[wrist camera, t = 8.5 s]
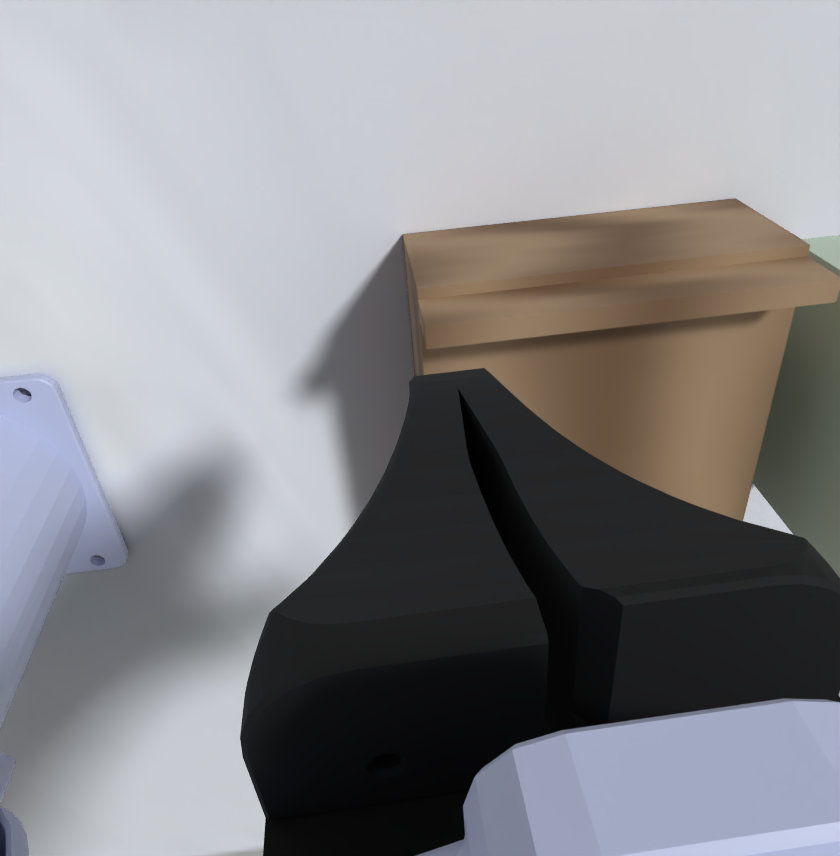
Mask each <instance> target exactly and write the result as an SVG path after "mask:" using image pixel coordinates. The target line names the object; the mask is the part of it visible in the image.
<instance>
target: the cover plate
mask: <svg viewBox="0 0 840 856" xmlns="http://www.w3.org/2000/svg"><path fill="white" fill-rule="evenodd" d="M802 240H803V241H805V242H807V243H808V244H810V248H809V252H808V257H810V258H811V259H813V260H814V261H816V262H817V263H819V264H820V265H822V266H823V267H825V268H827V269H828V270H830V271H831V272H833V273H834V274H836V275H837V276H839V277H840V235H838V236H829V237H820V238H811V239H802ZM752 483H753V484H754V485H755V486H756V488H757V489H758V490H759V491H760V493H761V494H762V495H763V497H764V498H765V499H766V500H767V502H768V503H769V504H770V505H771V507H772V508H773V509H774V510H775V512H776V513H777V514H778V515H779V517H780V518H781V519H782V521H783V522H784V523H785V524H786V526H787V527H788V528H789V529H790V531H791V532H792V533H793V534H794V535H796V536H799V537H803V538H806V540H807V541H808V542H809V543H810V544H811V545H812V546H813V547H814V548H815V549H816V550H817V551H818V552H819V553H820V555H821V556H822V557H823V558H824V559H825V560H826V561H827V562H828V563H829V565H830V566H831V567H832V569H833V570H834V571H835V572H836V574H837V575H838V576H839V578H840V290H839V294H838V297H837V301H836V302H833V303H825V304H816V305H807V306H799V307H795V310H794V314H793V318H792V322H791V326H790V330H789V334H788V338H787V342H786V346H785V351H784V355H783V359H782V363H781V367H780V371H779V375H778V379H777V383H776V387H775V391H774V396H773V400H772V404H771V408H770V412H769V416H768V420H767V424H766V428H765V432H764V436H763V441H762V445H761V449H760V453H759V457H758V461H757V465H756V469H755V473H754V477H753V481H752Z"/></svg>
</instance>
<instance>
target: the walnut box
mask: <svg viewBox="0 0 840 856" xmlns="http://www.w3.org/2000/svg"><path fill="white" fill-rule="evenodd" d="M403 242H404V254H405V265H406V276H407V288H408V299H409V311H410V322H411V334H412V345H413V357H414V368H415V376H420V375H428V374H437V373H445V372H454V371H462V370H471V369H479V368H485V369H486V370H487V371H489V372H490V373H491V374H492V375H493V376H494V377H495V378H496V379H497V380H498V381H499V382H500V383H501V384H502V385H504V386H505V387H506V388H507V389H508V390H509V391H510V392H511V393H512V394H513V395H514V396H515V397H516V398H518V399H519V400H520V401H521V402H522V403H523V404H524V405H525V406H527V407H528V408H529V409H530V410H531V411H532V412H534V413H535V414H536V415H537V416H538V417H540V418H541V419H542V420H543V421H545V422H546V423H547V424H548V425H549V426H551V427H552V428H553V429H554V430H556V431H557V432H559V433H560V434H561V435H563V436H564V437H566V438H567V439H568V440H570V441H571V442H573V443H574V444H576V445H577V446H578V447H580V448H581V449H583V450H585V451H586V452H588V453H589V454H591V455H592V456H594V457H596V458H598V459H599V460H601V461H603V462H605V463H606V464H608V465H610V466H612V467H613V468H615V469H617V470H619V471H620V472H622V473H624V474H626V475H628V476H630V477H632V478H634V479H636V480H638V481H640V482H642V483H644V484H647V485H649V486H651V487H653V488H655V489H658V490H660V491H662V492H664V493H666V494H669V495H671V496H673V497H676V498H678V499H681V500H683V501H686V502H688V503H691V504H693V505H696V506H699V507H702V508H705V509H707V510H710V511H713V512H716V513H719V514H722V515H725V516H728V517H731V518H734V519H737V520H740V521H743V518H744V514H745V510H746V506H747V502H748V498H749V494H750V490H751V486H752V481H753V477H754V473H755V469H756V465H757V461H758V457H759V453H760V449H761V445H762V441H763V436H764V432H765V428H766V424H767V420H768V416H769V412H770V408H771V404H772V400H773V396H774V391H775V387H776V383H777V379H778V375H779V371H780V367H781V363H782V359H783V355H784V351H785V346H786V342H787V338H788V334H789V330H790V326H791V322H792V318H793V314H794V310H795V307H799V306H807V305H816V304H825V303H833V302H836V301H837V297H838V294H839V290H840V277H839V276H837V275H836V274H834V273H833V272H831V271H830V270H828V269H827V268H825V267H823V266H822V265H820V264H819V263H817V262H816V261H814V260H813V259H811V258H810V257H808V252H809V248H810V244H808V243H807V242H805V241H803V240H802V239H800V238H799V237H797V236H795V235H794V234H792V233H790V232H789V231H787V230H786V229H784V228H782V227H781V226H779V225H778V224H776V223H774V222H773V221H771V220H769V219H768V218H766V217H765V216H763V215H761V214H760V213H758V212H757V211H755V210H753V209H752V208H750V207H748V206H747V205H745V204H744V203H742V202H740V201H739V200H737V199H726V200H717V201H708V202H699V203H689V204H680V205H671V206H661V207H652V208H643V209H633V210H624V211H615V212H606V213H596V214H587V215H578V216H568V217H559V218H550V219H540V220H531V221H522V222H513V223H503V224H494V225H485V226H475V227H466V228H457V229H447V230H438V231H429V232H420V233H410V234H403Z"/></svg>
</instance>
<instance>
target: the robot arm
mask: <svg viewBox="0 0 840 856" xmlns="http://www.w3.org/2000/svg"><path fill="white" fill-rule="evenodd" d="M409 386H410V398H409V404H408V409H407V413H406V418H405V421H404V424H403V427H402V430H401V434H400V437H399V440H398V442H397V445H396V447H395V450H394V452H393V454H392V457H391V459H390V462H389V464H388V466H387V469H386V471H385V473H384V475H383V477H382V479H381V481H380V483H379V485H378V486H377V488H376V490H375V492H374V493H373V495H372V497H371V499H370V500H369V502H368V504H367V505H366V507H365V508H364V510H363V511H362V513H361V514H360V516H359V517H358V519H357V520H356V522H355V523H354V525H353V526H352V528H351V529H350V530H349V532H348V533H347V534H346V536H345V537H344V538H343V539H342V541H341V542H340V543H339V544H338V545H337V547H336V548H335V549H334V550H333V551H332V552H331V553H330V555H329V556H328V557H327V558H326V559H325V560H324V561H323V563H322V564H321V565H320V566H319V567H318V568H317V569H316V571H315V572H314V573H313V574H312V575H311V576H310V577H309V578H308V579H307V580H306V581H305V582H304V583H302V584H301V585H300V586H299V587H298V588H297V589H296V590H295V591H293V592H292V593H291V594H290V595H289V596H288V597H287V598H286V599H285V600H283V601H282V602H281V603H280V604H279V605H277V606H276V607H275V608H274V609H273V610H272V611H271V612H270V613H269V615H268V618H267V620H266V623H265V626H264V628H263V631H262V634H261V637H260V639H259V642H258V646H257V649H256V652H255V655H254V658H253V662H252V666H251V670H250V674H249V678H248V682H247V687H246V692H245V699H244V708H243V717H242V726H241V735H240V740H241V747H242V754H243V759H244V761H245V764H246V767H247V769H248V772H249V775H250V777H251V780H252V783H253V785H254V788H255V791H256V793H257V796H258V799H259V801H260V804H261V807H262V809H263V812H264V815H265V817H266V822H265V837H264V851H263V856H840V697H839V695H838V694H839V692H840V578H839V576H838V575H837V574H836V572H835V571H834V570H833V569H832V567H831V566H830V565H829V563H828V562H827V561H826V560H825V559H824V558H823V557H822V556H821V555H820V553H819V552H818V551H817V550H816V549H815V548H814V547H813V546H812V545H811V544H810V543H809V542H808V541H807V540H806V538H803V537H799V536H796V535H792V534H788V533H785V532H781V531H777V530H773V529H770V528H766V527H762V526H759V525H755V524H751V523H747V522H744V521H740V520H737V519H734V518H731V517H728V516H725V515H722V514H719V513H716V512H713V511H710V510H707V509H705V508H702V507H699V506H696V505H693V504H691V503H688V502H686V501H683V500H681V499H678V498H676V497H673V496H671V495H669V494H666V493H664V492H662V491H660V490H658V489H655V488H653V487H651V486H649V485H647V484H644V483H642V482H640V481H638V480H636V479H634V478H632V477H630V476H628V475H626V474H624V473H622V472H620V471H619V470H617V469H615V468H613V467H612V466H610V465H608V464H606V463H605V462H603V461H601V460H599V459H598V458H596V457H594V456H592V455H591V454H589V453H588V452H586V451H585V450H583V449H581V448H580V447H578V446H577V445H576V444H574V443H573V442H571V441H570V440H568V439H567V438H566V437H564V436H563V435H561V434H560V433H559V432H557V431H556V430H554V429H553V428H552V427H551V426H549V425H548V424H547V423H546V422H545V421H543V420H542V419H541V418H540V417H538V416H537V415H536V414H535V413H534V412H532V411H531V410H530V409H529V408H528V407H527V406H525V405H524V404H523V403H522V402H521V401H520V400H519V399H518V398H516V397H515V396H514V395H513V394H512V393H511V392H510V391H509V390H508V389H507V388H506V387H505V386H504V385H502V384H501V383H500V382H499V381H498V380H497V379H496V378H495V377H494V376H493V375H492V374H491V373H490V372H489V371H487V370H486V369H485V368H479V369H471V370H462V371H454V372H445V373H437V374H428V375H420V376H415V377H414V378H413V379H412V380H411V381H410V382H409ZM18 388H24V389H26V390H28V391H29V392H30V393H31V395H32V396H25V395H23V394H21V393H20V392H19V390H18ZM94 555H99V556H101V557H103V558H98V557H95V556H94ZM127 557H128V549H127V547H126V545H125V542H124V540H123V537H122V535H121V533H120V530H119V528H118V525H117V523H116V521H115V518H114V516H113V513H112V511H111V509H110V506H109V504H108V501H107V499H106V497H105V494H104V492H103V489H102V487H101V485H100V482H99V480H98V477H97V475H96V473H95V470H94V468H93V465H92V463H91V461H90V458H89V456H88V453H87V451H86V449H85V446H84V444H83V441H82V439H81V437H80V434H79V432H78V429H77V427H76V425H75V422H74V420H73V417H72V415H71V412H70V410H69V408H68V405H67V403H66V400H65V398H64V396H63V393H62V391H61V388H60V386H59V384H58V383H57V381H56V380H55V379H53V378H52V377H51V376H48V375H45V374H28V375H19V376H11V377H2V378H0V729H1V726H2V724H3V722H4V719H5V717H6V714H7V712H8V710H9V707H10V705H11V702H12V700H13V698H14V695H15V693H16V690H17V688H18V685H19V683H20V681H21V678H22V676H23V673H24V671H25V669H26V666H27V664H28V661H29V659H30V657H31V654H32V652H33V649H34V647H35V645H36V642H37V640H38V637H39V635H40V632H41V630H42V628H43V625H44V623H45V620H46V618H47V616H48V613H49V611H50V608H51V606H52V604H53V601H54V599H55V596H56V594H57V591H58V589H59V587H60V584H61V582H62V579H63V577H64V575H65V574H71V573H79V572H87V571H95V570H103V569H110V568H117V567H121V566H122V565H124V564H125V562H126V560H127ZM14 766H15V761H14V759H12V758H11V757H9V756H8V755H6V754H5V753H4V752H3V751H2V750H1V749H0V803H1V800H2V798H3V795H4V792H5V790H6V787H7V784H8V782H9V779H10V776H11V774H12V771H13V769H14ZM28 854H29V849H28V842H27V835H26V832H25V830H24V827H23V825H22V823H21V822H20V821H19V819H18V818H17V817H16V816H15V815H14V814H13V813H12V812H10V811H8V810H6V809H5V808H3V807H1V806H0V856H28Z"/></svg>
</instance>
